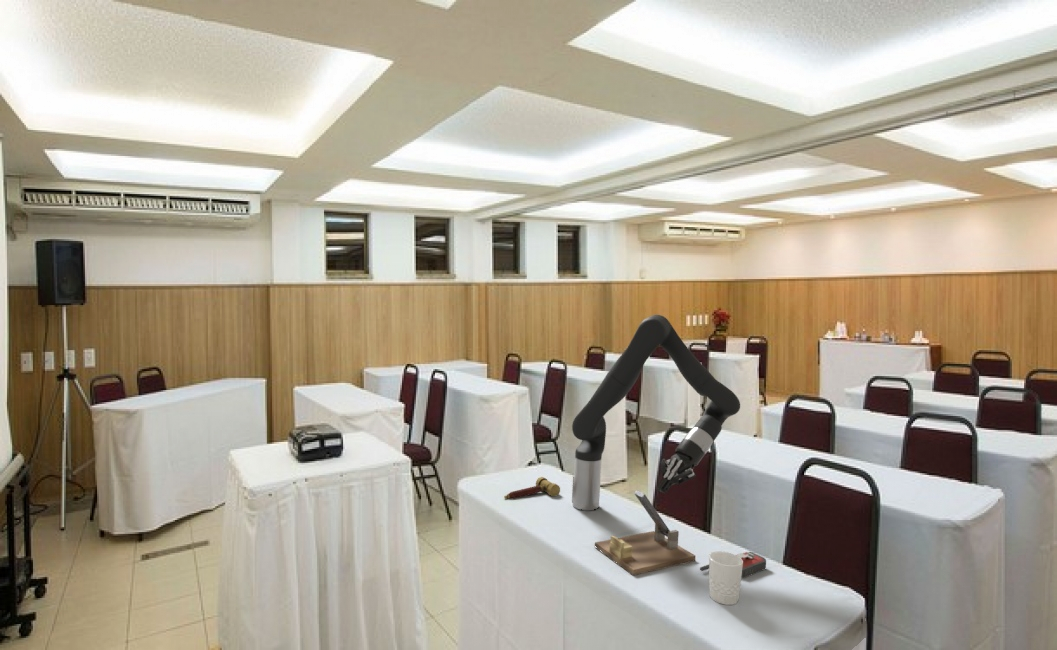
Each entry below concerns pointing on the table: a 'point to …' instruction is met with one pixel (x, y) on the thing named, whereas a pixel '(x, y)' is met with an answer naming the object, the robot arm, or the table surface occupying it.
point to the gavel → (536, 489)
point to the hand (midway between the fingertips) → (660, 491)
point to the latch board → (646, 551)
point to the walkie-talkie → (748, 563)
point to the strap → (652, 512)
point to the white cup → (725, 577)
